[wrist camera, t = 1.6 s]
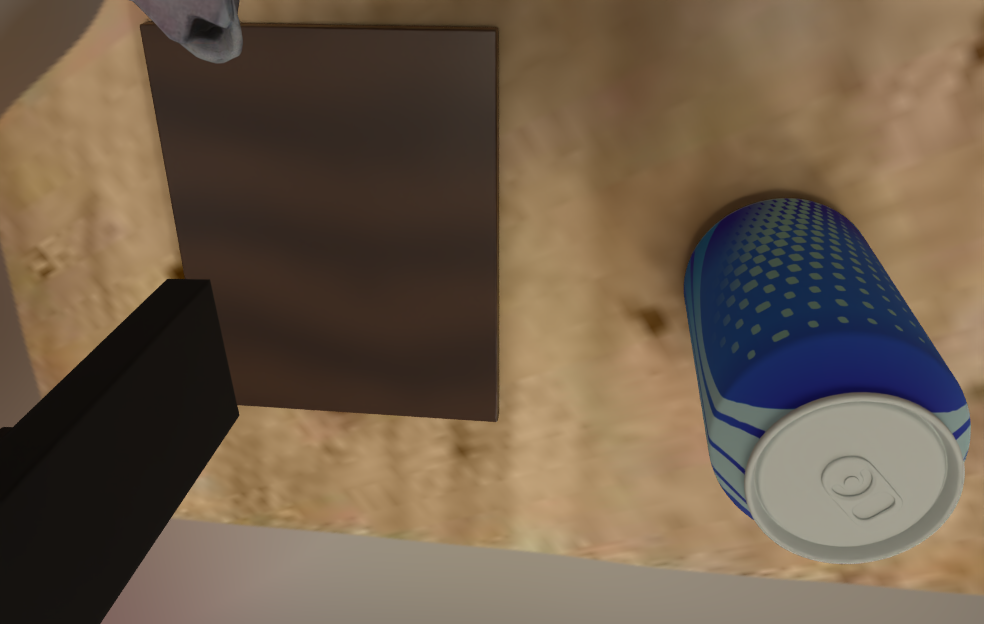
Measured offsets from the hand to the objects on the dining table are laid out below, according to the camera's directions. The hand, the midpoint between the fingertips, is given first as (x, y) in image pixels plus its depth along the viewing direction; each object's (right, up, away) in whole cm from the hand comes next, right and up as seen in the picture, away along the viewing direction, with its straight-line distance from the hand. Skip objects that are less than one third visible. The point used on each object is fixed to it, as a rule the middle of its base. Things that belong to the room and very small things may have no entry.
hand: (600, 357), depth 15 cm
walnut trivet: (-9, +5, +29) cm, 31 cm away
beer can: (+11, +3, +28) cm, 30 cm away
